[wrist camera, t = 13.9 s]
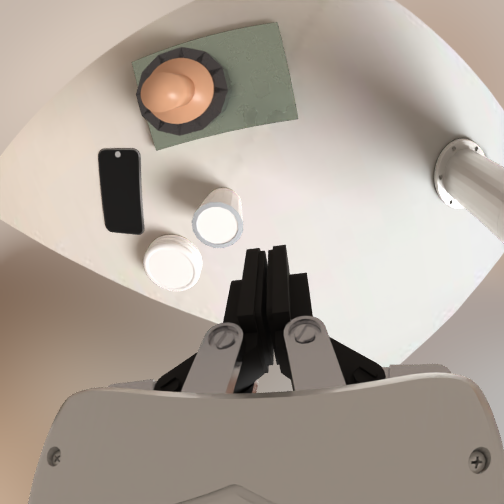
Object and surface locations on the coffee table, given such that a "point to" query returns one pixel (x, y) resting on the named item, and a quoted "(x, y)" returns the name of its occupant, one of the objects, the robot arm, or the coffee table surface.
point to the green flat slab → (228, 83)
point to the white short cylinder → (173, 263)
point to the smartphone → (121, 190)
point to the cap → (178, 90)
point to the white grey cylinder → (219, 219)
